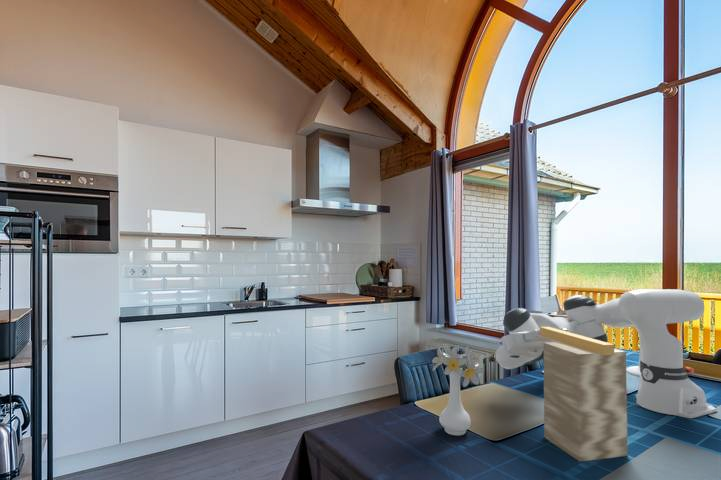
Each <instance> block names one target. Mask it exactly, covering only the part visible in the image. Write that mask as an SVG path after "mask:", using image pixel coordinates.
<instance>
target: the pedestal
mask: <svg viewBox="0 0 721 480" xmlns="http://www.w3.org/2000/svg"><path fill="white" fill-rule="evenodd" d="M626 369H627V351H625V350H622V349H618V348H615V347H614V355H601V354H598V353H595V352H592V351H589V350H585V349H582V348H579V347H576V346H573V345H569V344H566V343H563V342H546V343H544V358H543V418H544V419H543V423H544V424H543V425H544V427H543V431H544V434H543V435H544V437H545V438H544V439H546V440H548V441H549V442H550V443H552V444H553V445H554V446H556V447H557V448H559V449H561V450H562V451H563V452H565V453H566V454H568V455H570V456H571V457H572V458H573V459H575V460H577V461H578V462H579V463H580V462H588V461H589V462H590V461H596V460H604V459H605V460H606V459H613V458H620V457H621V458H622V457H628V454H629V453H628V399H627V397H628V395H627V392H628V391H627V388H628V387H627V372H626Z"/></svg>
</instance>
